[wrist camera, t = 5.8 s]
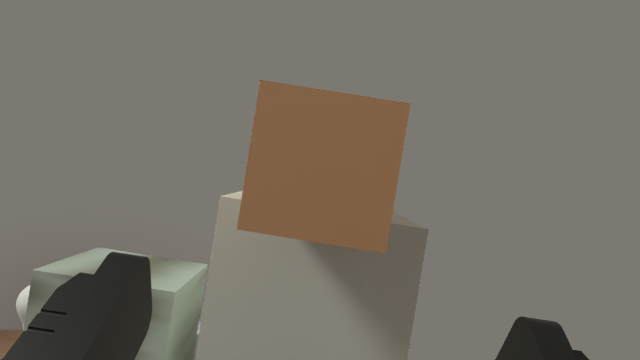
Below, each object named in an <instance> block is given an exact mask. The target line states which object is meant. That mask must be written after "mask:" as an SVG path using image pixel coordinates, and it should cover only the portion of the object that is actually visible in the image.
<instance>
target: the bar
mask: <svg viewBox="0 0 640 360" xmlns="http://www.w3.org/2000/svg"><path fill="white" fill-rule="evenodd" d="M409 108H410V104H409V103H403V102H397V101H390V100H384V99H378V98H371V97H365V96H359V95H352V94H345V93H340V92H333V91H326V90H320V89H314V88H308V87H302V86H295V85H289V84H283V83H276V82H270V81H263V80H260V85H259V91H258V98H257V104H256V110H255V117H254V123H253V129H252V136H251V142H250V148H249V155H248V161H247V167H246V174H245V180H244V186H243V193H242V199H241V205H240V212H239V218H238V225H237V230H243V231H249V232H255V233H262V234H268V235H274V236H280V237H286V238H293V239H299V240H305V241H311V242H317V243H324V244H330V245H336V246H342V247H348V248H355V249H361V250H367V251H373V252H379V253H386V251H387V245H388V238H389V232H390V226H391V220H392V214H393V207H394V201H395V195H396V189H397V182H398V177H399V170H400V163H401V158H402V152H403V146H404V140H405V133H406V127H407V121H408V115H409Z"/></svg>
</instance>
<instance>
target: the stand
mask: <svg viewBox="0 0 640 360" xmlns="http://www.w3.org/2000/svg"><path fill="white" fill-rule="evenodd" d="M242 193H243V191H240V192H236V193H232V194H228V195H224V196H220V203H219V209H218V216H217V222H216V228H215V235H214V241H213V248H212V254H211V261H210V267H209V273H208V280H207V286H206V292H205V298H204V305H203V312H202V318H201V324H200V330H199V337H198V343H197V349H196V356H195V360H407V358H408V352H409V351H408V350H409V345H410V339H411V333H412V327H413V320H414V315H415V309H416V303H417V297H418V291H419V284H420V278H421V272H422V266H423V260H424V254H425V248H426V241H427V235H428V229H427V228H425V227H423V226H421V225H419V224H417V223H415V222H413V221H411V220H409V219H407V218H405V217H403V216H401V215H399V214H397V213H395V212H393V214H392V220H391V226H390V232H389V238H388V245H387V251H386V253H379V252H373V251H367V250H361V249H355V248H348V247H342V246H336V245H330V244H324V243H317V242H311V241H305V240H299V239H293V238H286V237H280V236H274V235H268V234H262V233H255V232H249V231H243V230H237V225H238V218H239V212H240V205H241V199H242Z"/></svg>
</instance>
